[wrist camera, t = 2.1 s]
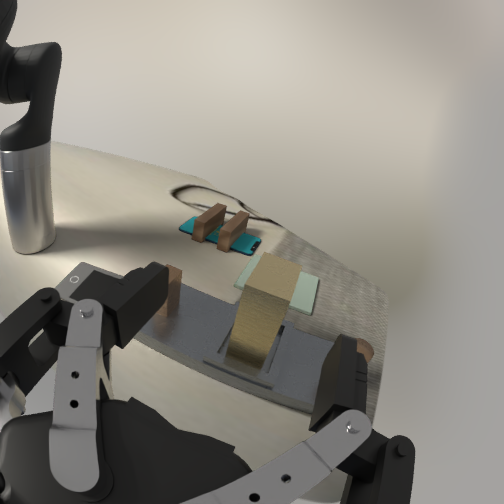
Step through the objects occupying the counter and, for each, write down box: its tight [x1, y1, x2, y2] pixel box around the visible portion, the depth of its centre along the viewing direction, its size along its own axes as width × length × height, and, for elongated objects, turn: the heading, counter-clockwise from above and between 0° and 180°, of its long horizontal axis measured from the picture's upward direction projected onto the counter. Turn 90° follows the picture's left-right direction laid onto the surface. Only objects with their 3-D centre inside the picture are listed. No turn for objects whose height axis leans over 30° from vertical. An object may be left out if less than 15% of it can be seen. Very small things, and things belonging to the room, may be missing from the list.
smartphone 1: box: [55, 262, 124, 304], centre depth 33 cm, size 15×8×1 cm, turn 82°
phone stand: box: [192, 203, 249, 252], centre depth 53 cm, size 7×10×4 cm
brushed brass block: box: [225, 252, 302, 370], centre depth 28 cm, size 4×6×10 cm, turn 162°
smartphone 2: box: [179, 217, 261, 256], centre depth 54 cm, size 7×1×15 cm
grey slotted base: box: [133, 264, 374, 414], centre depth 29 cm, size 25×10×7 cm, turn 72°
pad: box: [234, 254, 319, 315], centre depth 45 cm, size 12×10×1 cm
